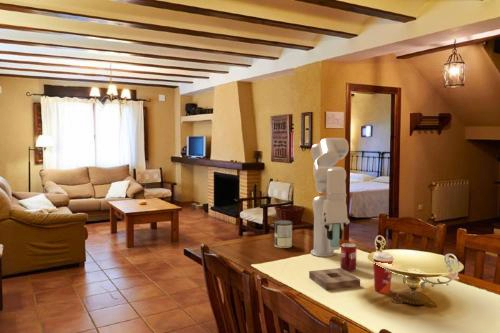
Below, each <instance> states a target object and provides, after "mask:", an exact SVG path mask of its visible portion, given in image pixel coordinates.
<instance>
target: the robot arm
mask: <svg viewBox="0 0 500 333" xmlns="http://www.w3.org/2000/svg"><path fill="white" fill-rule="evenodd" d="M349 147H350V145H349V142H348V140H347V139H346V138H344V137H325V138H322V139H321V140H320V141H319V142H318V143H315V144H313V145H312V146H311V150H310V152H311V158H312V161H313V165H312V173H313V179H314V181H315V191H316V192H317V193H319V194H326V195H318V196H316V197H314V198H313V199H312V210H313V218H314V219H313V249H311V251H310V254H311V255H313V256H316V257H321V258H323V257H325V258H327V257H332V256H335V250H336V251H339V250H341V246H339V247H331V246H330V240H332V231H331V229H332V224H337V223H340V235H339V240H343V231H344V229H345V228H346V226H347V225H348V224H350V223H351V222H350V219H349V218H348V205H347V195H348V194H347V187H346V185H347V184H346V179H347V171H346V170H345V168H344V167H342V166H335V165H336V164H337V163H338V162H339V161H340V160H343V159H345V158H346V156H347V155H348V153H349V149H350V148H349Z"/></svg>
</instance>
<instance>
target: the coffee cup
mask: <svg viewBox="0 0 500 333" xmlns="http://www.w3.org/2000/svg"><path fill="white" fill-rule="evenodd" d="M372 259H373V262H374V261H375V262H381V263H388V264H392V263H393V262H394V259H395V258H394V256H393V254H390V253H387V252H375V253H373V256H372ZM392 265H393V264H392ZM392 272H393V271H392ZM392 272H390V271H388V270H386V269H384V268H382V267H380V266H378V265H376V263H375V264H374V263H373V279H374V280H373V281H374V282H373V283H374V291H375V292H377V293H379V294H389V293H391V284H392V276H393V273H392Z"/></svg>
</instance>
